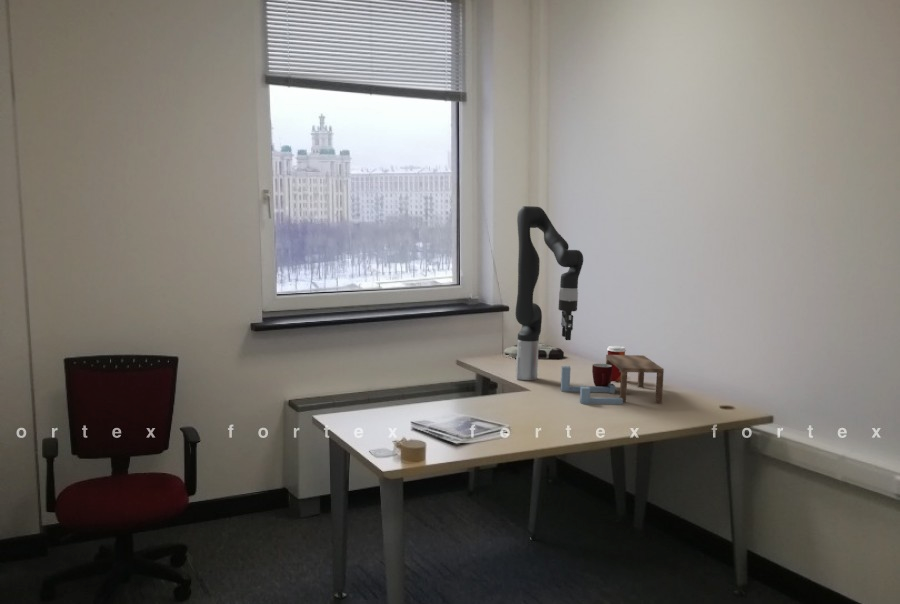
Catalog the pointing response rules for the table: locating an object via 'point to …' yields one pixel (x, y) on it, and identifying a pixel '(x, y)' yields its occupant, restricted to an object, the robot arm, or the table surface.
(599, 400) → the blue l-shaped block
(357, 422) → the table surface
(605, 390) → the light blue l-shaped bar
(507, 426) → the table surface
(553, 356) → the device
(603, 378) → the mug
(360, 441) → the table surface
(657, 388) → the small wooden table
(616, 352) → the coffee cup
